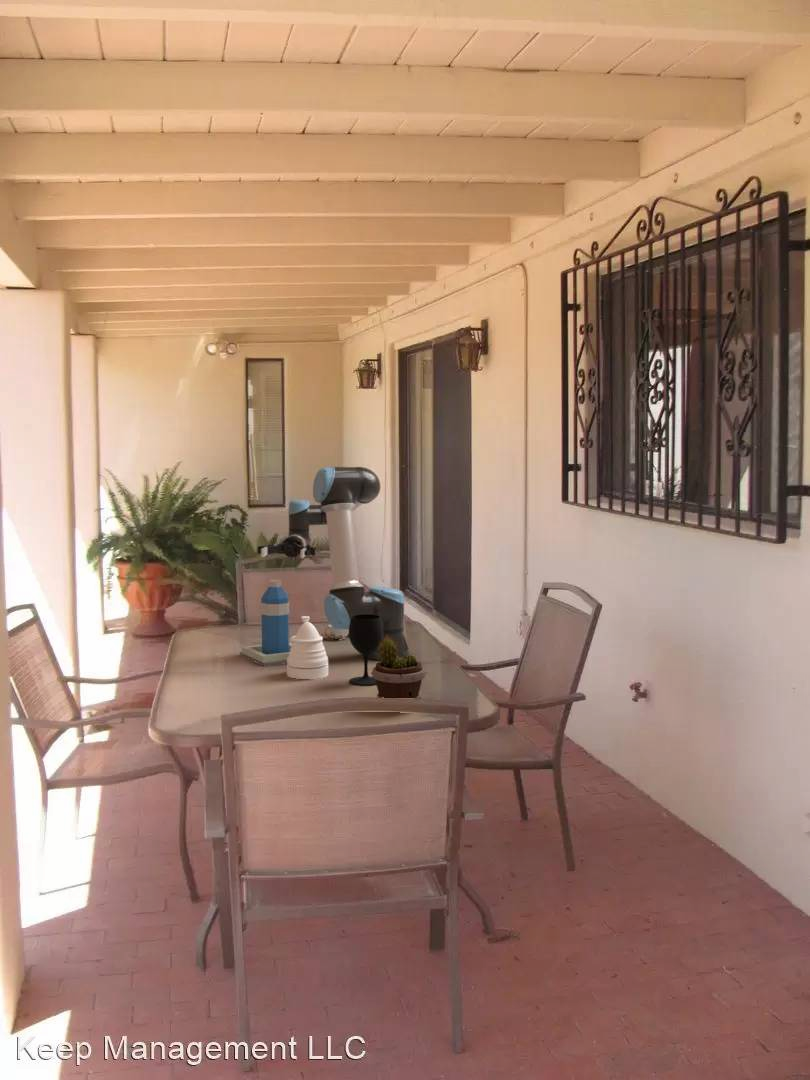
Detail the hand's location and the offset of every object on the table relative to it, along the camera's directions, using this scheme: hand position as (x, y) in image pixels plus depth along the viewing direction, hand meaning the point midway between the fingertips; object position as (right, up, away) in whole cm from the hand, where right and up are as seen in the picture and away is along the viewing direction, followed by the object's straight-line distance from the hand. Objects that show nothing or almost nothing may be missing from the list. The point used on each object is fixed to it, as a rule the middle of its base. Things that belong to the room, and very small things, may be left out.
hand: (281, 553), depth 353 cm
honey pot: (+12, -37, -30) cm, 49 cm away
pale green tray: (-1, -35, -6) cm, 35 cm away
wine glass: (+30, -38, -38) cm, 62 cm away
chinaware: (+26, -31, +30) cm, 50 cm away
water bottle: (-1, -34, -6) cm, 34 cm away
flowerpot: (+40, -41, -65) cm, 87 cm away
